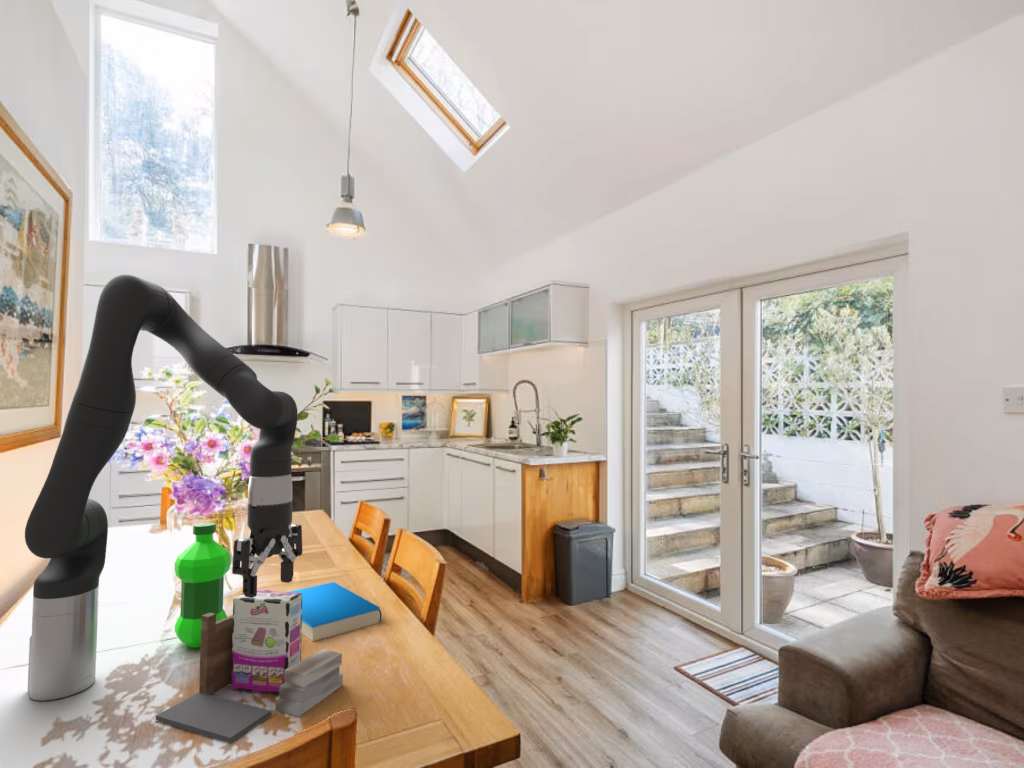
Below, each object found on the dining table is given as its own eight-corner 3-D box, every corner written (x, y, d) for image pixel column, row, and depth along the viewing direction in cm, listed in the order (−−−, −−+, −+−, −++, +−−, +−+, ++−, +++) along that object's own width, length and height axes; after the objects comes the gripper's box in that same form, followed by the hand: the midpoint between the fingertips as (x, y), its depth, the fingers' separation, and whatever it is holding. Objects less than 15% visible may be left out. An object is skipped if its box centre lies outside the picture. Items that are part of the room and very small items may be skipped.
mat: (155, 720, 89) (155, 715, 89) (199, 696, 96) (199, 691, 96) (230, 743, 83) (230, 737, 83) (270, 715, 91) (271, 710, 91)
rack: (199, 697, 96) (201, 615, 97) (264, 661, 110) (266, 589, 110) (205, 699, 95) (208, 617, 96) (270, 662, 109) (272, 591, 110)
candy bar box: (302, 682, 102) (304, 592, 102) (286, 696, 97) (289, 601, 97) (246, 676, 103) (249, 588, 104) (229, 690, 98) (231, 597, 99)
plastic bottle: (238, 638, 120) (241, 522, 121) (190, 657, 111) (194, 531, 112) (210, 629, 125) (213, 517, 126) (162, 646, 116) (166, 526, 117)
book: (312, 625, 119) (270, 594, 137) (311, 646, 119) (269, 611, 137) (382, 606, 131) (335, 579, 149) (382, 625, 130) (334, 596, 149)
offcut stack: (275, 710, 92) (276, 673, 92) (320, 679, 102) (321, 647, 103) (300, 716, 90) (301, 679, 91) (343, 685, 101) (344, 651, 101)
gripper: (283, 492, 109) (282, 575, 109) (222, 504, 96) (220, 599, 95) (313, 494, 107) (312, 579, 106) (255, 507, 93) (253, 605, 93)
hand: (269, 589), depth 101 cm, fingers open, 8 cm apart
